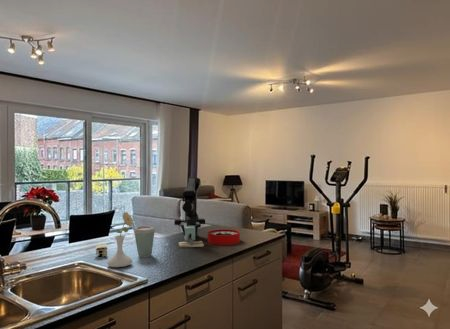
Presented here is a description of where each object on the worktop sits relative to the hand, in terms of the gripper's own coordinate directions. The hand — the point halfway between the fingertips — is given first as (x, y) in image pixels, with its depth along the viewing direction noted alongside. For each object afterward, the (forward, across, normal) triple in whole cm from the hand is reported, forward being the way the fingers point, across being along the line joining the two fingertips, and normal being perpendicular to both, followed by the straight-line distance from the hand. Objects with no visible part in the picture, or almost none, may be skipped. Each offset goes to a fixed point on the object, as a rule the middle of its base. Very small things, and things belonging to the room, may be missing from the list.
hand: (189, 235), depth 208 cm
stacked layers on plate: (+5, -48, -22) cm, 53 cm away
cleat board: (+4, 0, -8) cm, 9 cm away
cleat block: (+2, 0, 0) cm, 2 cm away
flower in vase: (+4, -36, -43) cm, 56 cm away
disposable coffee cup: (+4, -26, -28) cm, 38 cm away
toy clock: (+5, +21, -1) cm, 22 cm away
